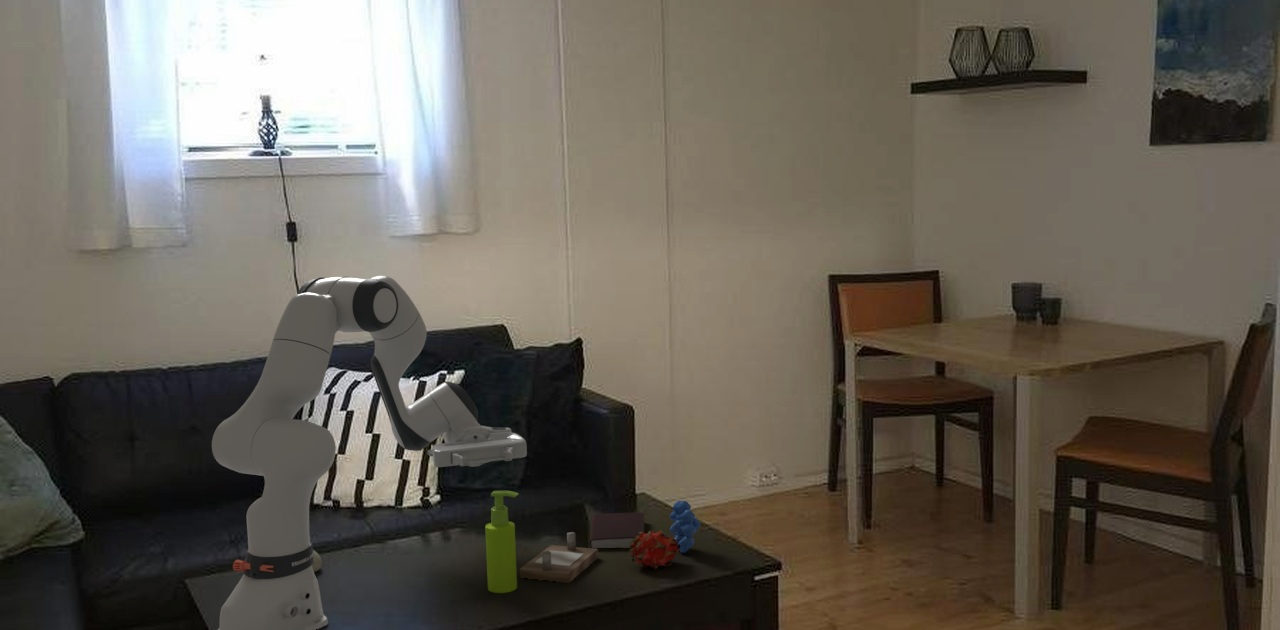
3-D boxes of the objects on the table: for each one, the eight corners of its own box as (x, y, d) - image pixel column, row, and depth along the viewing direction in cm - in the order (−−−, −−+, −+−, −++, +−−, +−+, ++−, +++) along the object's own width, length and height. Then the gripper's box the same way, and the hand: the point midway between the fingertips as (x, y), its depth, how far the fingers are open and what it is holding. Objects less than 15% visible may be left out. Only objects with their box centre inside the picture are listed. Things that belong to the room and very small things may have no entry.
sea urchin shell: (265, 570, 236) (279, 536, 241) (282, 586, 242) (296, 553, 247) (303, 573, 233) (316, 538, 238) (319, 590, 239) (332, 556, 244)
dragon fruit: (624, 576, 237) (676, 576, 241) (638, 563, 230) (691, 563, 235) (619, 537, 241) (670, 538, 246) (633, 523, 235) (686, 524, 239)
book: (589, 552, 250) (589, 537, 250) (592, 525, 269) (592, 512, 269) (645, 550, 250) (645, 536, 250) (644, 524, 269) (644, 510, 269)
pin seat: (568, 583, 229) (568, 557, 228) (520, 578, 233) (519, 552, 232) (597, 558, 244) (597, 533, 243) (551, 553, 248) (550, 529, 247)
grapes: (711, 558, 242) (710, 504, 241) (681, 562, 240) (680, 507, 239) (692, 542, 253) (691, 490, 252) (664, 545, 251) (663, 493, 250)
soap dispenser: (516, 594, 224) (513, 496, 221) (483, 592, 225) (479, 495, 223) (525, 583, 229) (522, 488, 227) (493, 582, 231) (489, 487, 229)
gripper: (425, 436, 245) (436, 450, 232) (516, 426, 252) (532, 439, 239) (426, 464, 246) (438, 480, 233) (517, 454, 253) (534, 468, 240)
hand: (486, 459), depth 236 cm, fingers open, 8 cm apart
